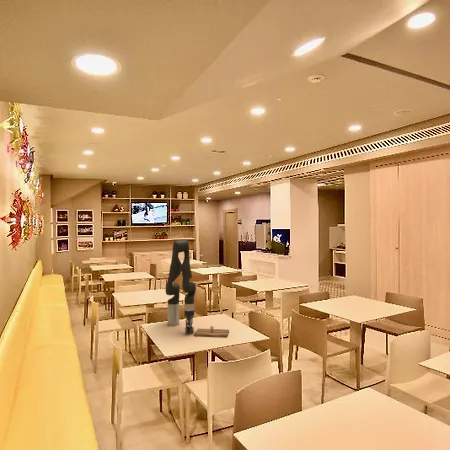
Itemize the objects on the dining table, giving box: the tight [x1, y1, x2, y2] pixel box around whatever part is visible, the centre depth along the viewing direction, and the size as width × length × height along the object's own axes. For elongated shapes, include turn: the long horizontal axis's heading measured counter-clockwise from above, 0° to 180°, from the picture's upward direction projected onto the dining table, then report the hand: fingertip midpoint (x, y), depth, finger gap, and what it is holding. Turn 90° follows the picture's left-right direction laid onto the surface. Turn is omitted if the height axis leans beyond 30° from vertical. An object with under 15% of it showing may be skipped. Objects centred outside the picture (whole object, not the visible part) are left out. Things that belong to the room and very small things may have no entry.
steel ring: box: [184, 326, 195, 335], centre depth 269 cm, size 6×6×4 cm
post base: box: [193, 325, 230, 339], centre depth 267 cm, size 14×24×6 cm, turn 83°
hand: (189, 331), depth 269 cm, fingers closed on steel ring, 6 cm apart
